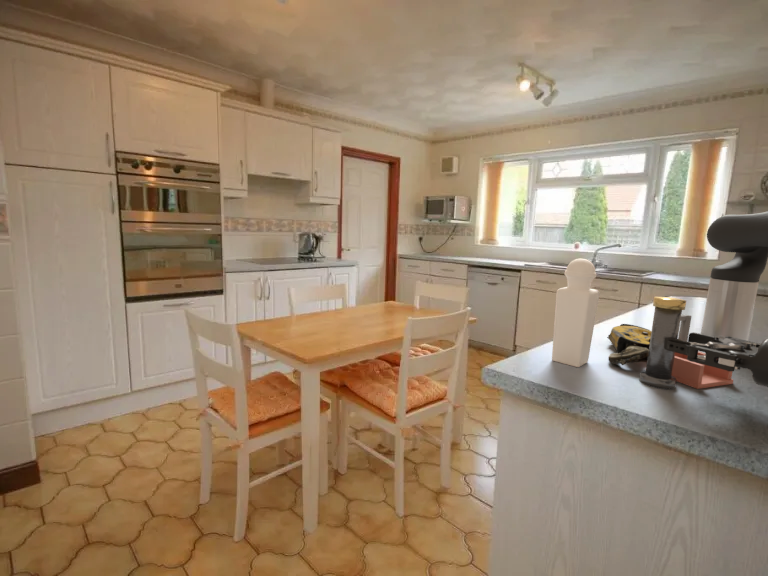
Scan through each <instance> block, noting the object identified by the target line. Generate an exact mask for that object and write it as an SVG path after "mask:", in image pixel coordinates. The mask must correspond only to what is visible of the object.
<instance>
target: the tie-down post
mask: <svg viewBox="0 0 768 576" xmlns="http://www.w3.org/2000/svg"><path fill="white" fill-rule="evenodd" d="M686 305H687V300H685V299H681V298H677V297H668V296H654V297H653V301H652V306H653V307H654V311H653V313H654V314H653V319H652V326H651V331H652V332H651V338H650V345H649V352H648V358H647V361H646V365H645V369H644V370H640V372H639V379H638V381H639V382H640V383H642V384H643V385H645V386H649V387H652V388H655V389H656V388H657V389H661V390H674V389H676V384H677V381H676V378H675V377H673V376H672V370H673V364H674V357H675V352H672V351H668V350H665V349H664V343H665V339H666V338H668V337H671V338H676V339H678V337H679V331H680V325H681V321H680V320H681V315H683V314H682V312H683V311H685V310H686Z"/></svg>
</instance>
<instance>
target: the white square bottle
mask: <svg viewBox="0 0 768 576" xmlns="http://www.w3.org/2000/svg"><path fill="white" fill-rule="evenodd" d="M564 276H565V277H566V282H567V286H564V287H560V288H558V289H557V290H556V293H555V294H556V296H555V309H554V310H555V311H554V324H553V335H552V336H553V339H552V353H551V361H552V362H556V363H559V364H564V365H566V366H567V365H568V366H570V367H575V368H580V367H582V366H584V365H585V364H586V363H588V362H589V358H590V352H591V346H592V340H593V335H594V329H595V328H594V327H595V321H596V317H597V311H598V304H599V298H600V291H599V290H598V289H594V288H591V286H592V283H593V281H594V280H595V279H596V277H597V272H596V267H595V264H594V263H593V262H592V261H590V260H589V259H586V258H580V257H579V258H575V259H572V260H571V261H570V262H569V263H568V265H567V266H566V269H565V270H564Z"/></svg>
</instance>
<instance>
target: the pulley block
mask: <svg viewBox="0 0 768 576" xmlns="http://www.w3.org/2000/svg"><path fill="white" fill-rule="evenodd" d="M651 332H652V330H650V329H648V328H645V327H642V326H639V325H633V324H628V323H621V324H620V325H617V326H614V327H612V328H611V330H610V333H609V334H608V336H607V337H606V338H607V339H608V340H609V341H610V344H612V346H613V347H614V349H615V350H616V352H615V353H614V352H613V353H610V354H609V355H608V361H609V363H611V364H614V365H620V364H621V366H625V364H630V363H635V362H638V361H639V362H647V358H648V352H649V345H650V338H651Z"/></svg>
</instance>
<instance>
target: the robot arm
mask: <svg viewBox="0 0 768 576" xmlns="http://www.w3.org/2000/svg"><path fill="white" fill-rule="evenodd" d="M706 239H707V241H708V244H709V245H710V247H712V248H713V249H715V250H717V251H719V252H724V253H735V254H734V257H732V259H731V260H729V261H727V262H726V263H723V264H719V265H716V266H713V268H712V269H711V271H710V277H709V283H708V287H707V288H708V290H707V296H706V301H705V307H704V313H703V319H702V325H701V328H700V333H698V332H689V335H688V341H684V340H680V339H676V338H671V337H668V338H666V339H665V343H664V349H665V350H668V351H672V352H676V353H680V354H683V355H687V356H688V357H687V360H689V361H691V362H696V363H700V364H704V365H708V366H712V367H715V368H719V369H723V370H727V371H730V372H731V371H733V372H735V370H741V369H745V370H750V372H751V373H752V379H753V382H754V383H755V384H757V385H758V386H762V387H764V388H768V338H766V339H764V340H763V341H762V342H760V343H759V342H754V341H749V339H750V335H751V330H752V323H753V318H754V312H755V309H754V308H755V305H756V299H757V294H758V289H759V282H760V279H761V276H762V274H763V273H764V271H765V269H766V266H767V263H768V211H765V212H764V211H762V212H758V213H750V214H747V213H745V214H737V213H736V214H735V213H734V214H733V213H732V214H724V215H723V216H720V217H717V218H716V220H714V221H712V223H710V225H709V227H708V229H707V231H706ZM698 351H699V352H702V353H706V354H705V355H704V356H702V355H698Z"/></svg>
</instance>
